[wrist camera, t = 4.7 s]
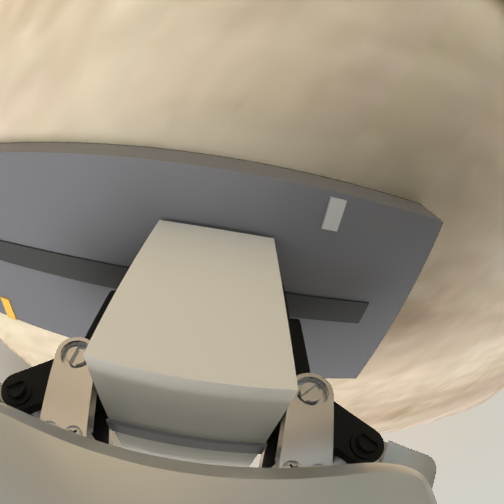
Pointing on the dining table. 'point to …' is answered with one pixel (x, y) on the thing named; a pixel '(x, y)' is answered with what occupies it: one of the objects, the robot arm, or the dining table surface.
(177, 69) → the dining table surface
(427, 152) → the dining table surface
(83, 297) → the slider panel
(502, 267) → the dining table surface
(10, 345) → the dining table surface
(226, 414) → the fader tab
